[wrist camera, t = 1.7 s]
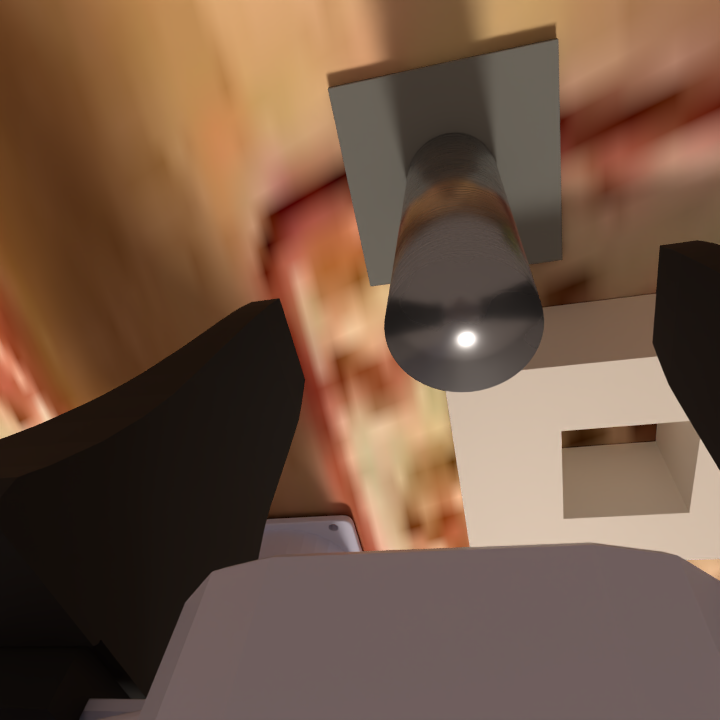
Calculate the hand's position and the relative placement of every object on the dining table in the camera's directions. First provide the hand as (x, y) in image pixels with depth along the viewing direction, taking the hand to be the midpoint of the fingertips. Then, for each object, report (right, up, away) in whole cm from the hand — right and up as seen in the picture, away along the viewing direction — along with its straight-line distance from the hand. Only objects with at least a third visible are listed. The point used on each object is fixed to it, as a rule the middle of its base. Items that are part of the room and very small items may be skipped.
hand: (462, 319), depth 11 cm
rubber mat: (+1, +5, +8) cm, 10 cm away
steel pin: (+1, +5, +8) cm, 10 cm away
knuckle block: (+8, -3, +13) cm, 15 cm away
